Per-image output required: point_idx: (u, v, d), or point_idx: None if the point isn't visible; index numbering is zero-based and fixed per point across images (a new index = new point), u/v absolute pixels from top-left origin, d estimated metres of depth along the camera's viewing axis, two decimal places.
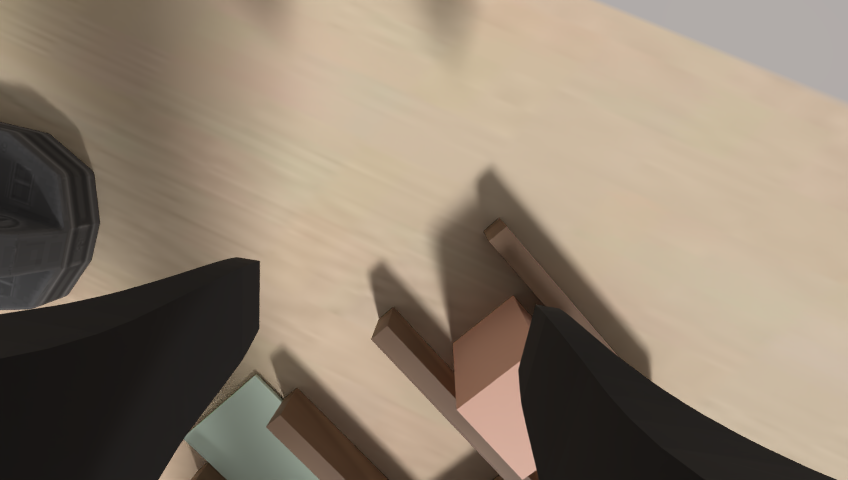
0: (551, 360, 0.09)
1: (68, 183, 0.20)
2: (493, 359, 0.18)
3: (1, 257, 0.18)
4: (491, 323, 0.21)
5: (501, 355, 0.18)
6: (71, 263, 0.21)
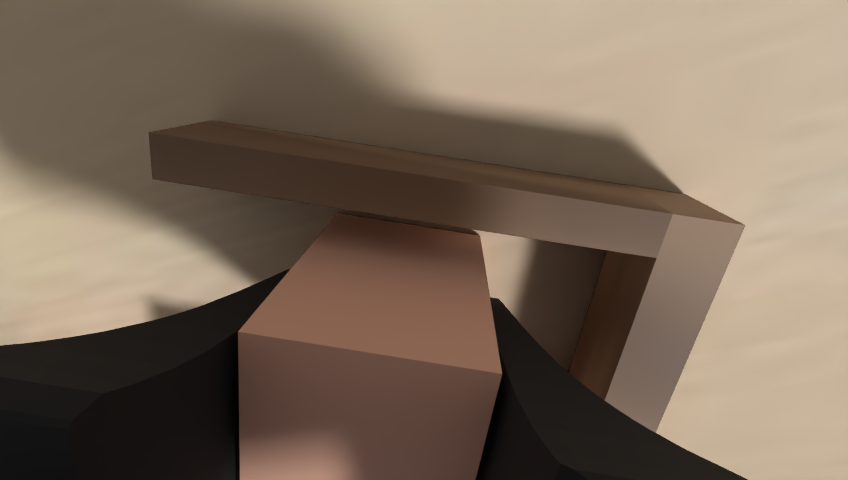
0: None
1: None
2: None
3: None
4: None
5: None
6: None
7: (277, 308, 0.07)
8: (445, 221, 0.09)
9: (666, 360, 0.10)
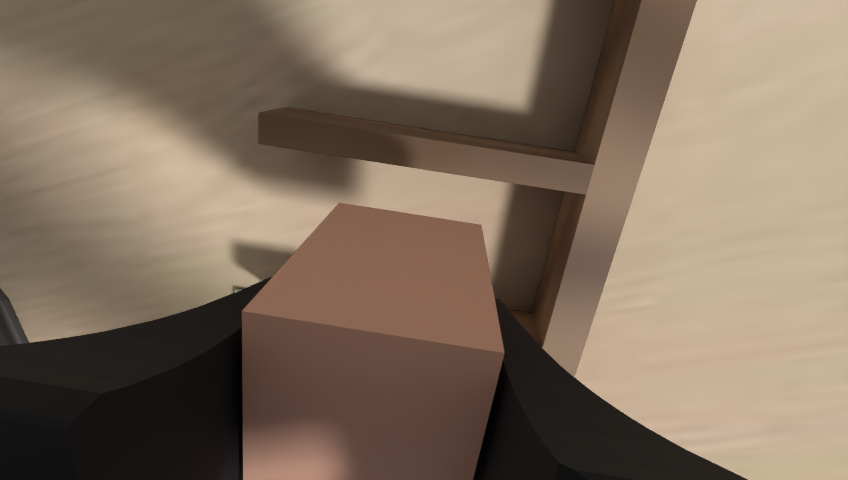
0: None
1: None
2: None
3: None
4: None
5: None
6: None
7: (280, 290, 0.07)
8: None
9: (664, 51, 0.13)
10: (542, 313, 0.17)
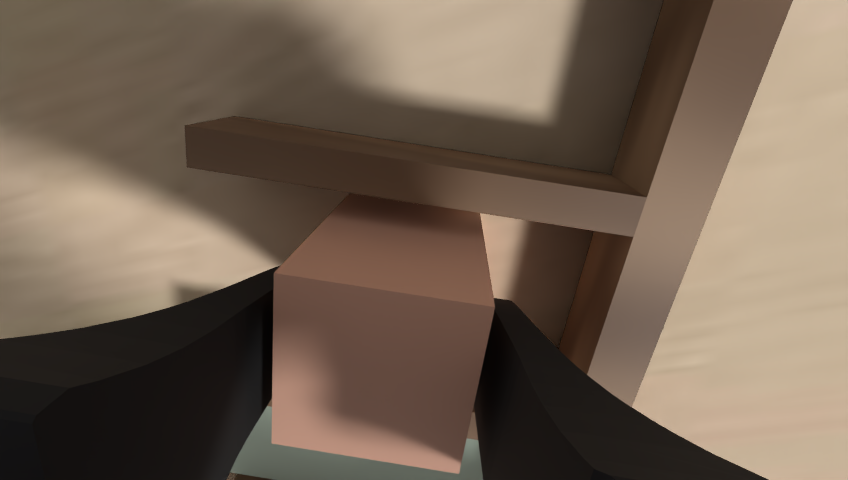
0: (495, 351, 0.09)
1: None
2: None
3: None
4: None
5: None
6: None
7: (304, 258, 0.09)
8: None
9: (754, 39, 0.09)
10: None
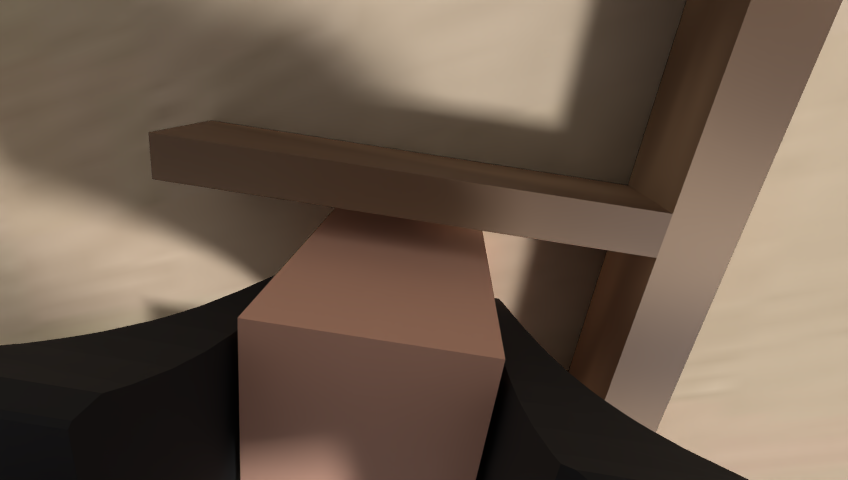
0: None
1: None
2: None
3: None
4: None
5: None
6: None
7: (277, 295, 0.07)
8: None
9: (801, 34, 0.08)
10: None
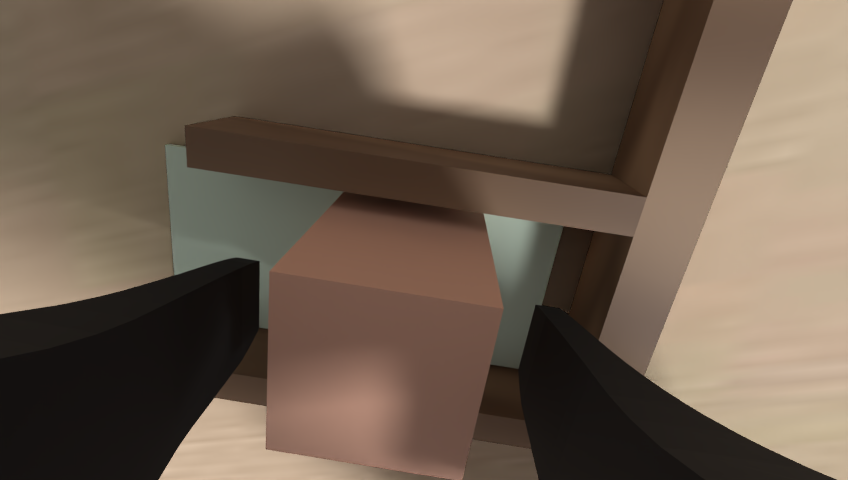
0: (551, 360, 0.09)
1: None
2: None
3: None
4: None
5: None
6: None
7: (301, 256, 0.08)
8: None
9: None
10: (639, 154, 0.11)
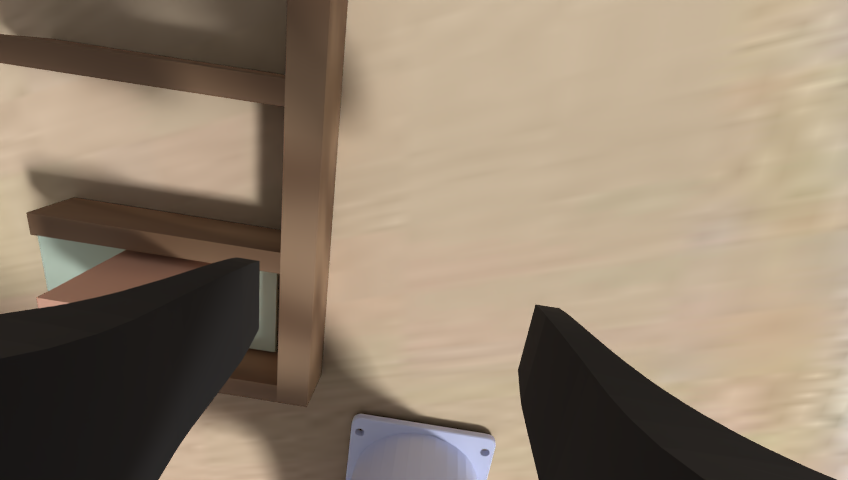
0: (551, 359, 0.09)
1: None
2: None
3: None
4: None
5: None
6: None
7: (62, 289, 0.16)
8: None
9: None
10: None
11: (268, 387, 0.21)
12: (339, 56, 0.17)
